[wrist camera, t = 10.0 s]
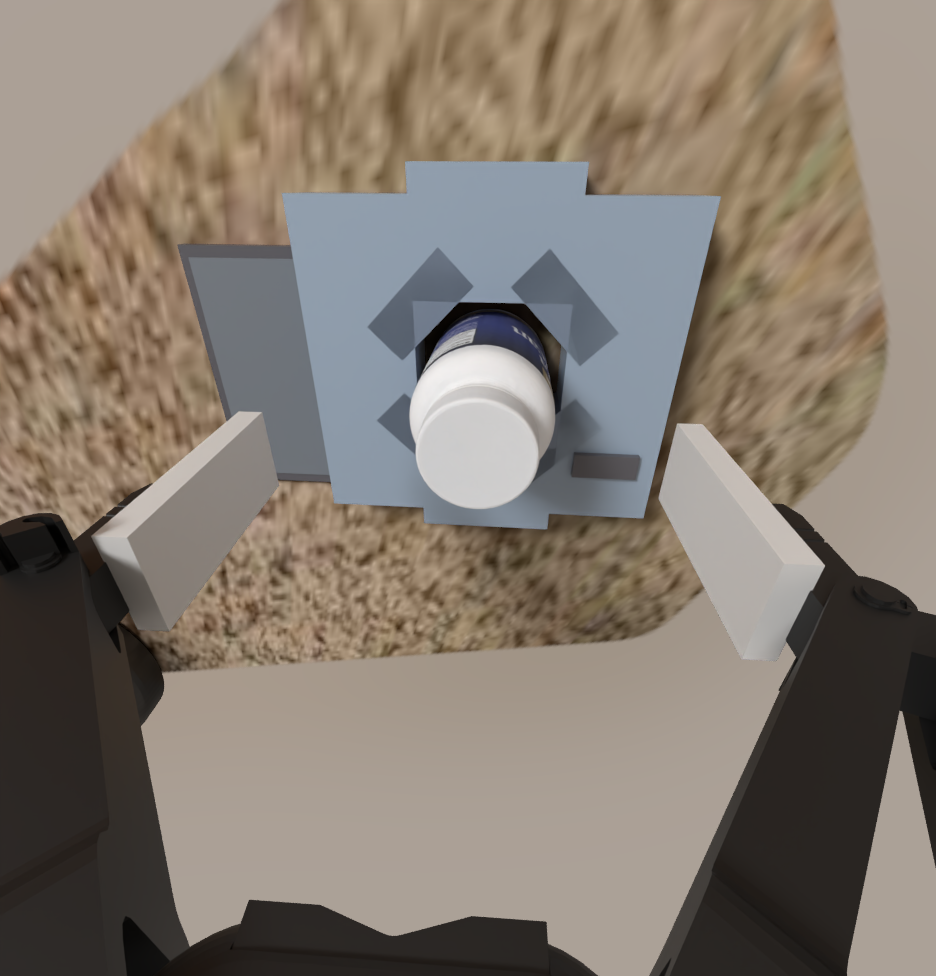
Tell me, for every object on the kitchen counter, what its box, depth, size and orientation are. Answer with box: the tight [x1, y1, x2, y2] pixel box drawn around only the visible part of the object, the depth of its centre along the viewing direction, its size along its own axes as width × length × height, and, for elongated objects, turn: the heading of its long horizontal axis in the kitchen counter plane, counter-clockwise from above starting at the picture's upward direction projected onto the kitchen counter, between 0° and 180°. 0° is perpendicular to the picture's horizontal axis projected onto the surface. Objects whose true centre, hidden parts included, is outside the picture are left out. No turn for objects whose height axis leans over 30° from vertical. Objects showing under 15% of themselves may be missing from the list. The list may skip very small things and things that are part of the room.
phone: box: [178, 244, 331, 482], centre depth 25 cm, size 12×6×1 cm, turn 0°
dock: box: [282, 161, 721, 529], centre depth 22 cm, size 16×16×3 cm
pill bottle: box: [409, 309, 555, 509], centre depth 19 cm, size 5×5×10 cm
